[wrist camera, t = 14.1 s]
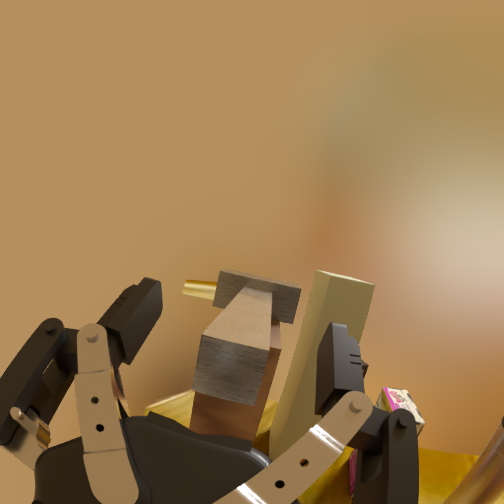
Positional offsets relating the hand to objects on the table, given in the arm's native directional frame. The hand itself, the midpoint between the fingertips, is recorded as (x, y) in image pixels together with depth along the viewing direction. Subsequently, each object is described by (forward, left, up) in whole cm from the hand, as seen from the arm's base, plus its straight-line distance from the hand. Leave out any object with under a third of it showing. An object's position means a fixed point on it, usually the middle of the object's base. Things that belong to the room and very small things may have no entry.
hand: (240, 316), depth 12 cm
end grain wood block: (0, -10, -4) cm, 11 cm away
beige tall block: (-11, -26, -30) cm, 41 cm away
